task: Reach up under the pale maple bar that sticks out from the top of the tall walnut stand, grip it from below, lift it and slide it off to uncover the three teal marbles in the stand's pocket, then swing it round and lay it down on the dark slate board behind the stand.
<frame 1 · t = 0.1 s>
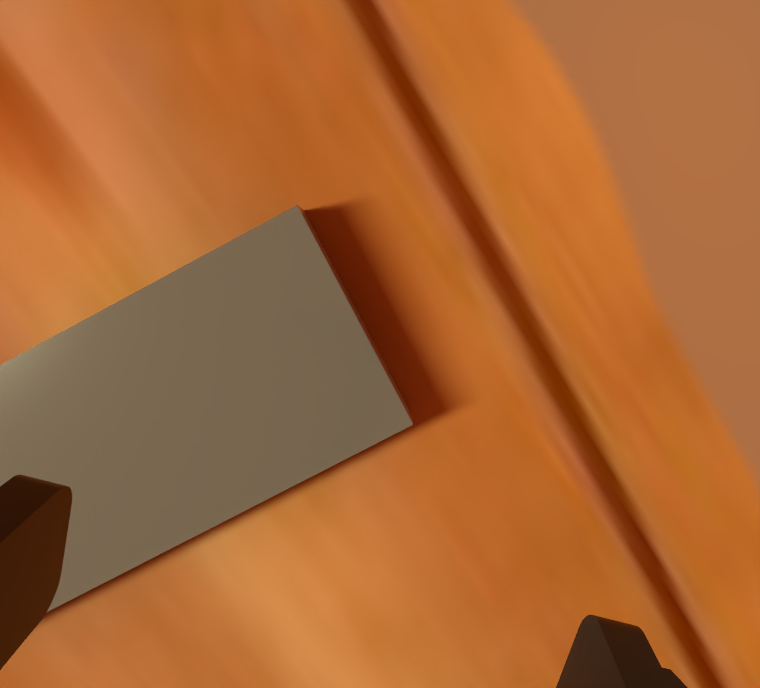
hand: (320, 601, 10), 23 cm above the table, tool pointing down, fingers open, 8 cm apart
board: (124, 435, 33), on the table
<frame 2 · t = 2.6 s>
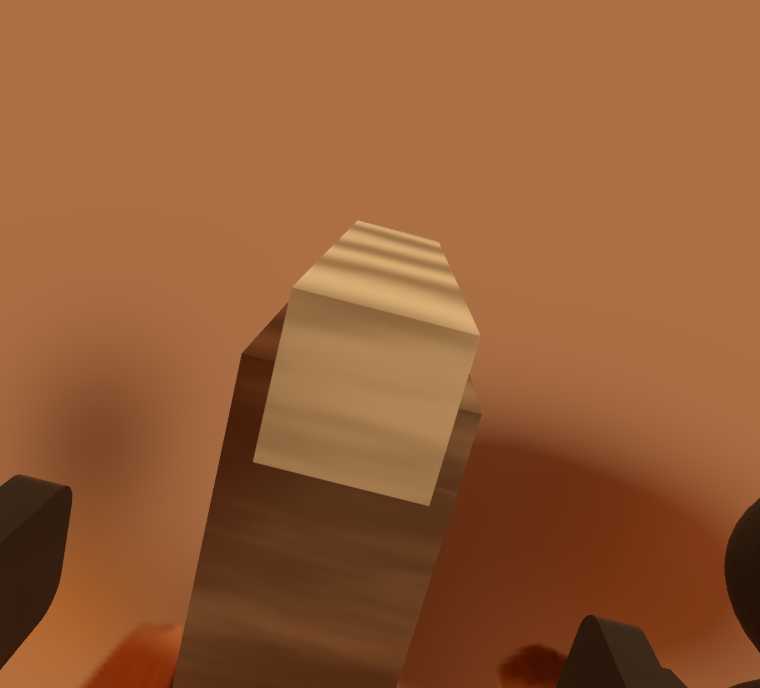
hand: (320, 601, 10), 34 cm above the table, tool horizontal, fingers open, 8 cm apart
bar: (366, 363, 30), point 32 cm above the table, touching stand
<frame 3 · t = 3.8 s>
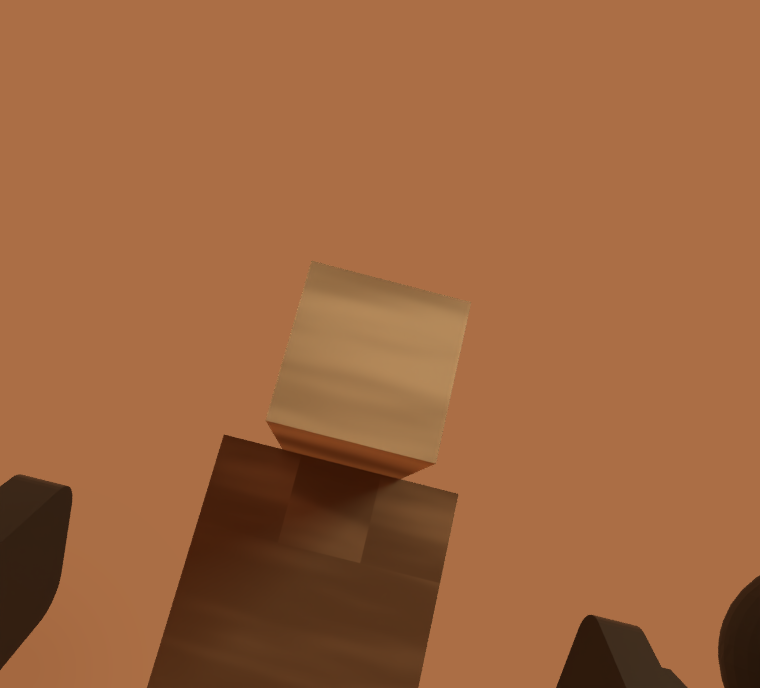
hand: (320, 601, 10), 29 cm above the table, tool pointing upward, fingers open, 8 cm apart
bar: (339, 469, 31), point 32 cm above the table, touching stand
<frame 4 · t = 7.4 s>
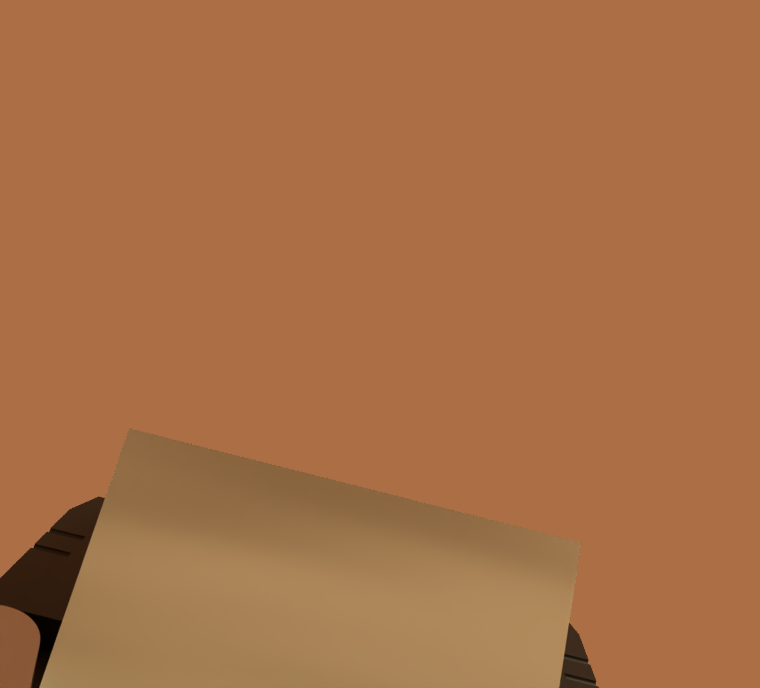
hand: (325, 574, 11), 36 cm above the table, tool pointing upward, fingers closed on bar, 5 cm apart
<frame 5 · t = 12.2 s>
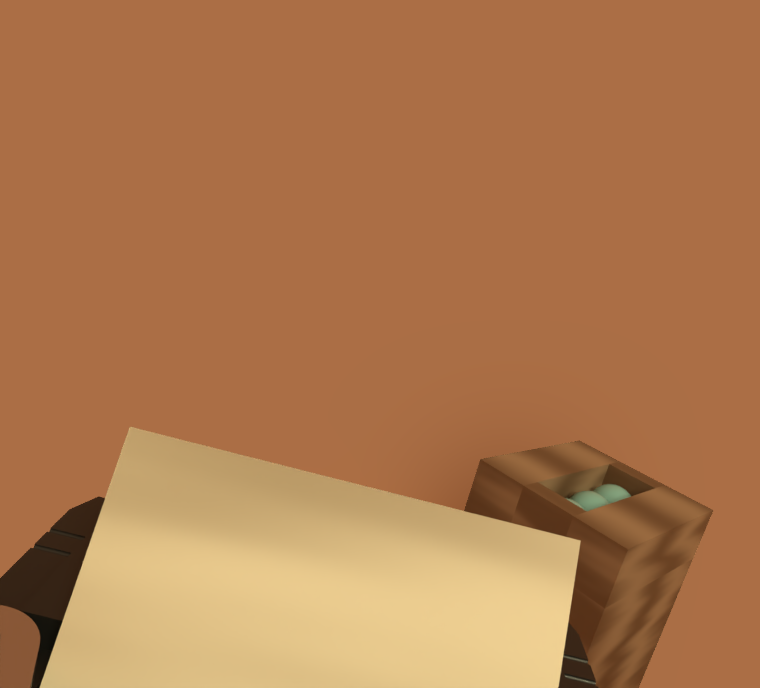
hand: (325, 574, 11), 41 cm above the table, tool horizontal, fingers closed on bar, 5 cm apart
marble 1: (603, 526, 45), point 28 cm above the table, touching stand
marble 2: (580, 535, 43), point 28 cm above the table, touching stand
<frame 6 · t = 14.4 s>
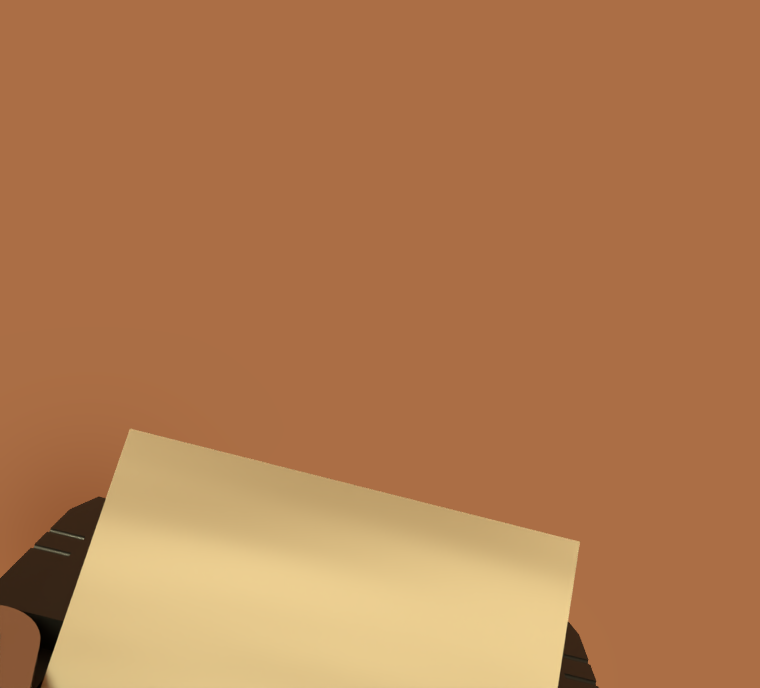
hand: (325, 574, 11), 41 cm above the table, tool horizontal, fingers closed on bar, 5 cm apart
when the fingers open (8 cm above the table, at t = 21.4 s): bar drops 1 cm, resting on board.
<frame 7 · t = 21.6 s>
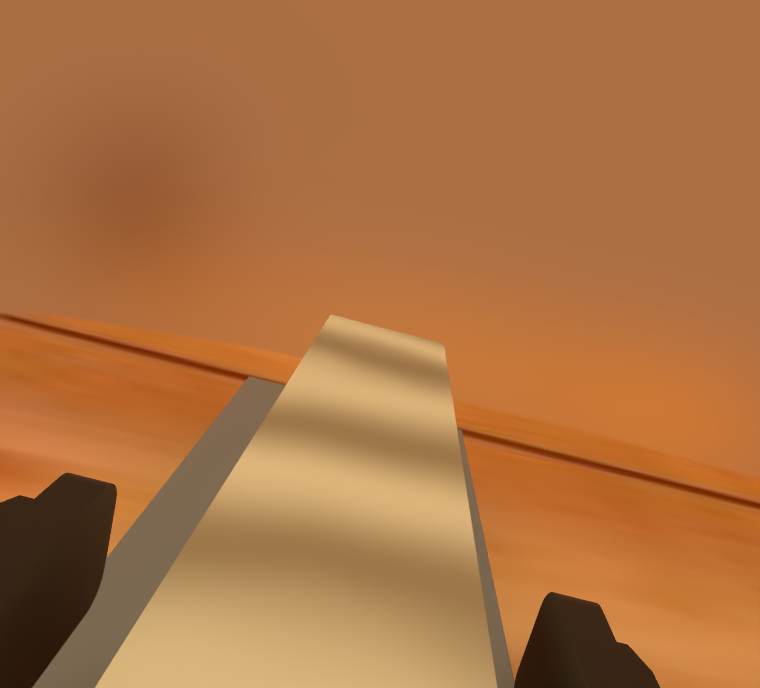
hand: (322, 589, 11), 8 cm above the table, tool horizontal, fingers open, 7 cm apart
board: (307, 605, 22), on the table
bar: (322, 596, 19), point 2 cm above the table, touching board
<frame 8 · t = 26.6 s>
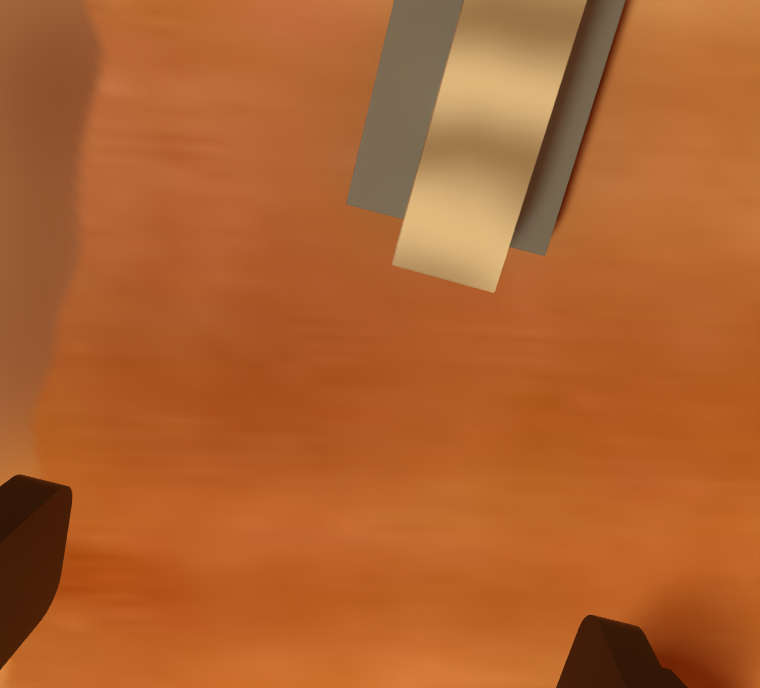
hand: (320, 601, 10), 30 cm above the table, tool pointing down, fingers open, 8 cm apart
bar: (506, 33, 34), point 2 cm above the table, touching board
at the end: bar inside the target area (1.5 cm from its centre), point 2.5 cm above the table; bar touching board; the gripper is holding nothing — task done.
